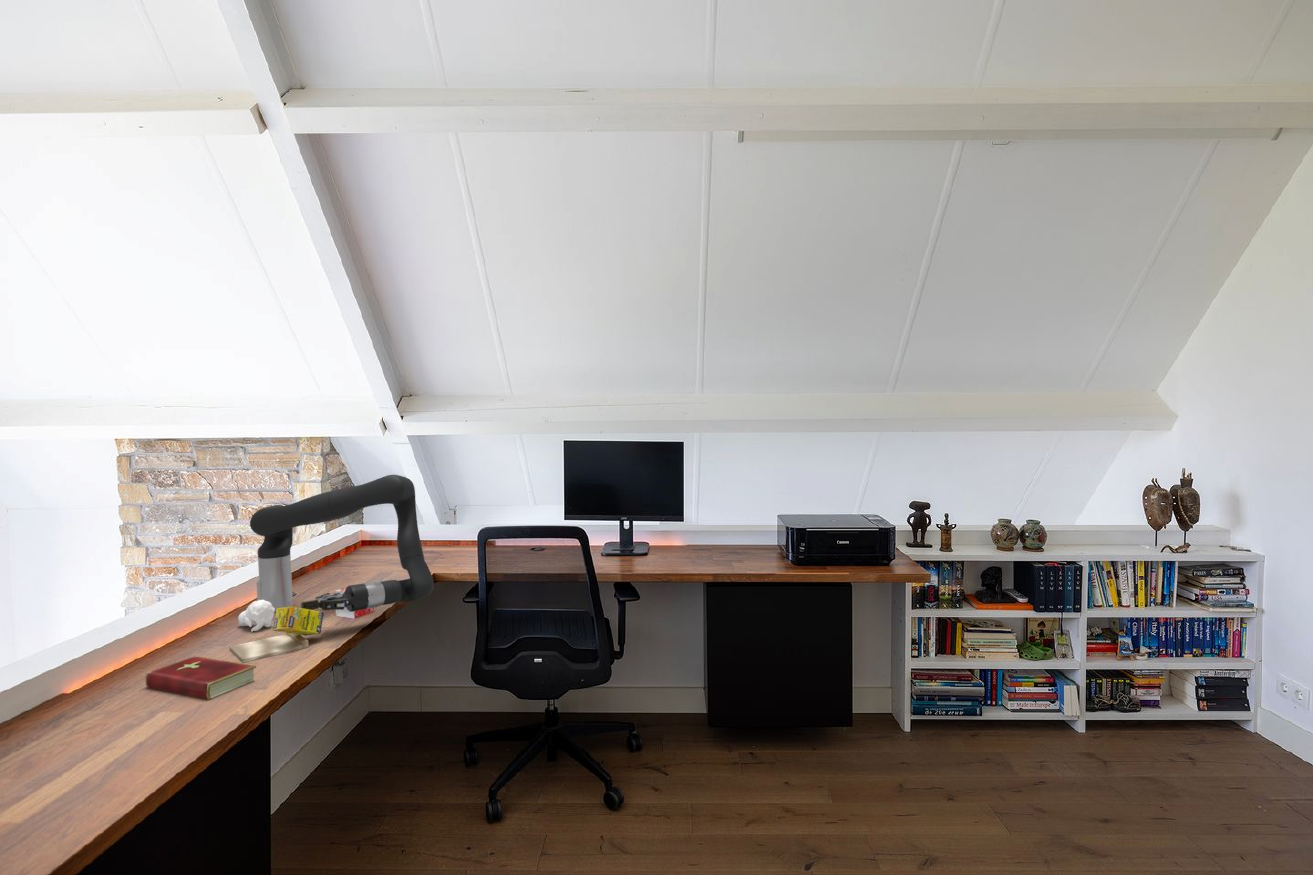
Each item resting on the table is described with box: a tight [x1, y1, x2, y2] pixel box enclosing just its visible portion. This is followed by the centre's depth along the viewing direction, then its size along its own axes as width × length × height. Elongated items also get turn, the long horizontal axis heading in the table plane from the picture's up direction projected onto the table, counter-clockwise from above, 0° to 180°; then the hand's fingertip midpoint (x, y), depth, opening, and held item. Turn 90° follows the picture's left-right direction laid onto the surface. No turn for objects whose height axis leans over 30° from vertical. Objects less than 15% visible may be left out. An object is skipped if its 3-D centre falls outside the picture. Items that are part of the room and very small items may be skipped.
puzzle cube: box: [334, 586, 375, 619], centre depth 222 cm, size 8×8×8 cm
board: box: [229, 633, 309, 664], centre depth 191 cm, size 16×14×2 cm
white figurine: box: [238, 600, 275, 633], centre depth 209 cm, size 6×8×12 cm
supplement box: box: [272, 606, 325, 637], centre depth 193 cm, size 6×6×11 cm
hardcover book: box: [145, 655, 257, 701], centre depth 167 cm, size 12×21×4 cm, turn 68°
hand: (302, 606), depth 196 cm, fingers closed
